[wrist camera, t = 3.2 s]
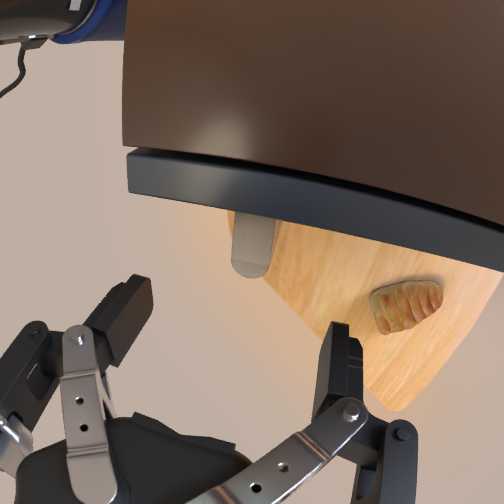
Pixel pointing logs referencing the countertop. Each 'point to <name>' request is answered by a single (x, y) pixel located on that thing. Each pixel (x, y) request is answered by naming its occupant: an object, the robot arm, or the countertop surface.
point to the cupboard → (327, 90)
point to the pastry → (404, 304)
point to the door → (309, 208)
